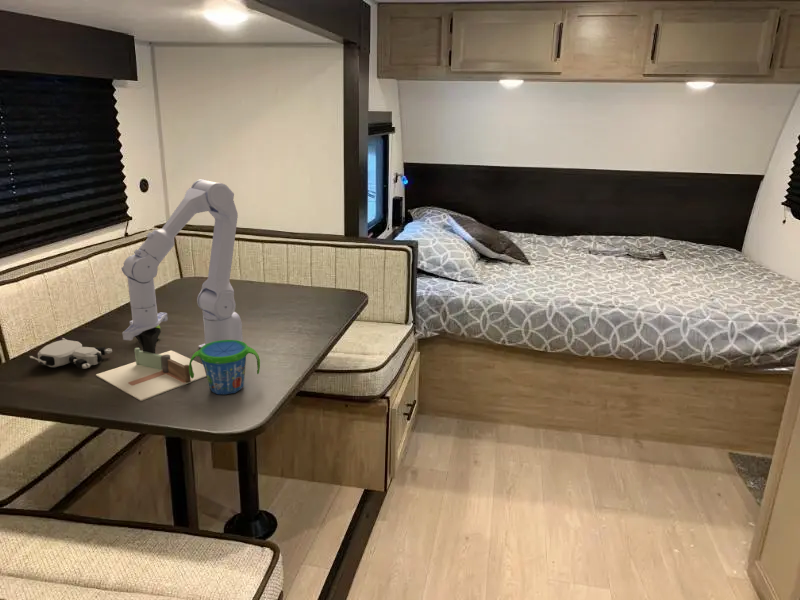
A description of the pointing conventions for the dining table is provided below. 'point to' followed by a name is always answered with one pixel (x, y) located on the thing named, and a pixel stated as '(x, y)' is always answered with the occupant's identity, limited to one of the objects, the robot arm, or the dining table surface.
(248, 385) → the dining table surface
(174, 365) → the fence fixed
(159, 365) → the fence gate
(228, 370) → the snack cup
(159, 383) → the card
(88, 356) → the robot toy
